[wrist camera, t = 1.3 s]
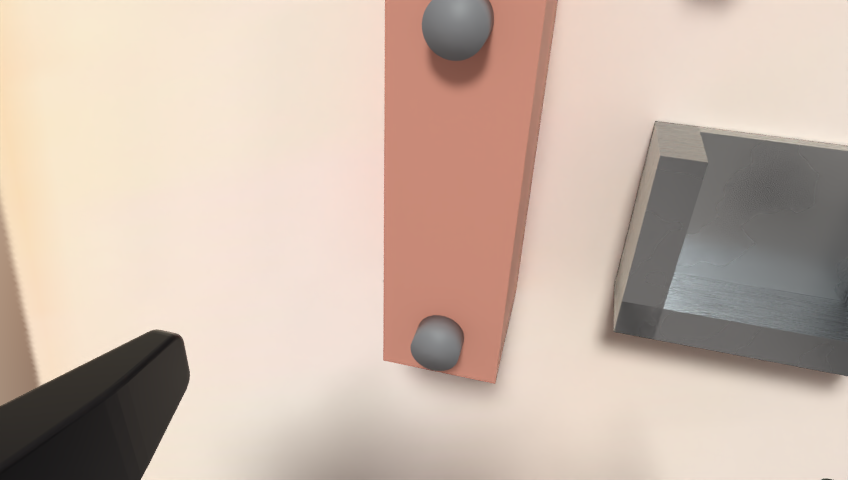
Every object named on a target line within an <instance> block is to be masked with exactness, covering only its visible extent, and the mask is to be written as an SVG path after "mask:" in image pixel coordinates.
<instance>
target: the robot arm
mask: <svg viewBox="0 0 848 480" xmlns="http://www.w3.org/2000/svg"><path fill="white" fill-rule="evenodd" d="M189 379H190V371H189V366H188V361H187V356H186V351H185V346H184V341H183V339H182V337H181V336H180V335H179V334H176V333H172V332H167V331H163V330H152V331H149V332H147V333H145V334H143V335H141V336H139V337H137V338H135V339H133V340H131V341H129V342H127V343H125V344H123V345H121V346H119V347H117V348H115V349H113V350H111V351H109V352H107V353H105V354H103V355H101V356H99V357H97V358H95V359H93V360H91V361H89V362H87V363H85V364H83V365H81V366H79V367H77V368H75V369H73V370H71V371H69V372H67V373H65V374H63V375H61V376H59V377H57V378H55V379H53V380H51V381H49V382H47V383H45V384H43V385H41V386H39V387H37V388H35V389H33V390H31V391H29V392H27V393H26V394H23V395H21V396H19V397H17V398H15V399H13V400H11V401H10V402H7V403H5V404H3V405H1V406H0V480H141V478H142V476H143V474H144V472H145V471H146V469H147V467H148V465H149V463H150V461H151V459H152V457H153V455H154V453H155V451H156V449H157V447H158V445H159V443H160V441H161V439H162V437H163V435H164V433H165V431H166V429H167V427H168V425H169V423H170V421H171V419H172V417H173V415H174V413H175V411H176V409H177V407H178V405H179V403H180V401H181V399H182V397H183V395H184V393H185V391H186V389H187V386H188V383H189ZM822 480H832V479H822Z"/></svg>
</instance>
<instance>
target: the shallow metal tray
mask: <svg viewBox="0 0 848 480" xmlns="http://www.w3.org/2000/svg"><path fill="white" fill-rule="evenodd" d="M614 332H618V333H623V334H628V335H634V336H639V337H644V338H649V339H655V340H660V341H665V342H670V343H676V344H681V345H686V346H691V347H697V348H702V349H707V350H712V351H718V352H723V353H728V354H734V355H739V356H744V357H749V358H755V359H760V360H765V361H770V362H776V363H781V364H786V365H791V366H797V367H802V368H807V369H813V370H818V371H823V372H828V373H834V374H839V375H844V376H848V146H845V145H837V144H830V143H822V142H814V141H806V140H799V139H791V138H783V137H775V136H767V135H760V134H752V133H744V132H736V131H729V130H721V129H713V128H705V127H697V126H690V125H682V124H674V123H666V122H658V121H655V125H654V129H653V133H652V137H651V141H650V145H649V149H648V153H647V157H646V161H645V165H644V169H643V173H642V177H641V181H640V185H639V189H638V193H637V197H636V201H635V205H634V209H633V213H632V217H631V221H630V225H629V229H628V233H627V237H626V241H625V245H624V249H623V253H622V257H621V261H620V265H619V269H618V273H617V277H616V281H615V285H614Z"/></svg>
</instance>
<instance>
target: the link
mask: <svg viewBox="0 0 848 480" xmlns="http://www.w3.org/2000/svg"><path fill="white" fill-rule="evenodd" d="M557 2H558V0H385V138H384V348H383V360H384V361H389V362H394V363H399V364H403V365H408V366H413V367H418V368H423V369H427V370H432V371H437V372H442V373H446V374H451V375H456V376H461V377H466V378H470V379H475V380H480V381H485V382H489V383H494V384H495V381H496V377H497V373H498V368H499V364H500V359H501V355H502V350H503V346H504V342H505V337H506V333H507V328H508V324H509V319H510V315H511V311H512V306H513V302H514V297H515V293H516V287H517V280H518V273H519V266H520V259H521V252H522V245H523V238H524V231H525V224H526V217H527V211H528V204H529V197H530V190H531V183H532V176H533V169H534V162H535V155H536V148H537V141H538V134H539V127H540V120H541V113H542V106H543V99H544V92H545V85H546V78H547V71H548V64H549V57H550V50H551V43H552V36H553V29H554V22H555V15H556V8H557Z"/></svg>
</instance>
